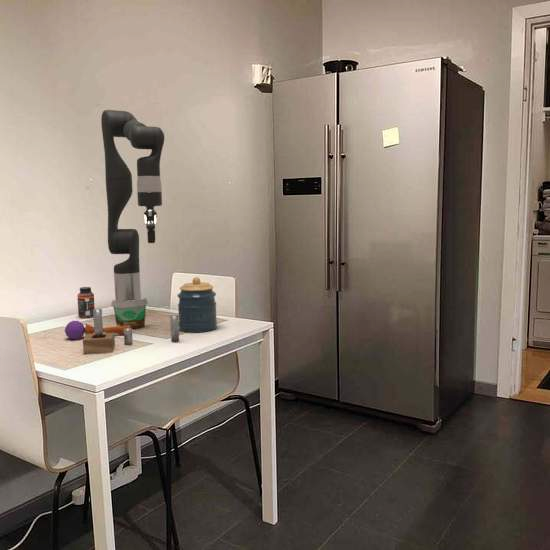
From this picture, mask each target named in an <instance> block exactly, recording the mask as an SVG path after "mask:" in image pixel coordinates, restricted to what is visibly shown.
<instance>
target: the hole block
mask: <svg viewBox="0 0 550 550" xmlns="http://www.w3.org/2000/svg"><path fill="white" fill-rule="evenodd" d="M114 346H115V347H116V341H115V334H114V332H113V333H103V338H95V333H93V334H86V336H84V338H83V339H82V351H83V355H89V354H90V353H94V354H108V352H109V353H113V352H114V349H115V347H114ZM106 352H107V353H106Z"/></svg>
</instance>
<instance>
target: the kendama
mask: <svg viewBox="0 0 550 550" xmlns="http://www.w3.org/2000/svg"><path fill="white" fill-rule="evenodd" d="M124 328H130V325H126V326H117V325H116V326H110V327H108V326H107V327H103V333H113V332H114V335H122V336H124ZM64 334H65V335H66V337H67V339H69V340H79V339H81V338H82V337H83V336H84V335H85V336H86V334H95V333H94V325H92V324H91V325H90V324H88V323H85V325H84V324H83V323H82V322H81V321H79V320H72V321H69V322H68V323H67V324H66V325H65V328H64ZM85 336H84V337H85Z"/></svg>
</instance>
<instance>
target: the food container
mask: <svg viewBox="0 0 550 550" xmlns="http://www.w3.org/2000/svg"><path fill="white" fill-rule="evenodd" d="M148 304H149V302H148V298H147V297H145V298H141V300H127V301H116V300H114V299H112V302H111V306H110V307H112V308H113V313H114V319H115V323H116V327H117V326H126V325H130V328H132V331H134V330H139V329H140V330H141V329H143V328H145V325H146V309H147V305H148Z"/></svg>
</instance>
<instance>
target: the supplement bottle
mask: <svg viewBox="0 0 550 550" xmlns="http://www.w3.org/2000/svg"><path fill="white" fill-rule="evenodd" d="M77 309H78V311H77V312H78V314H77V315H78V318H80V319H89V318H94V316H93V310H94V309H96V308H95V293H93V292H92V288H91V287H90V286H82V287H79V293H77Z"/></svg>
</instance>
